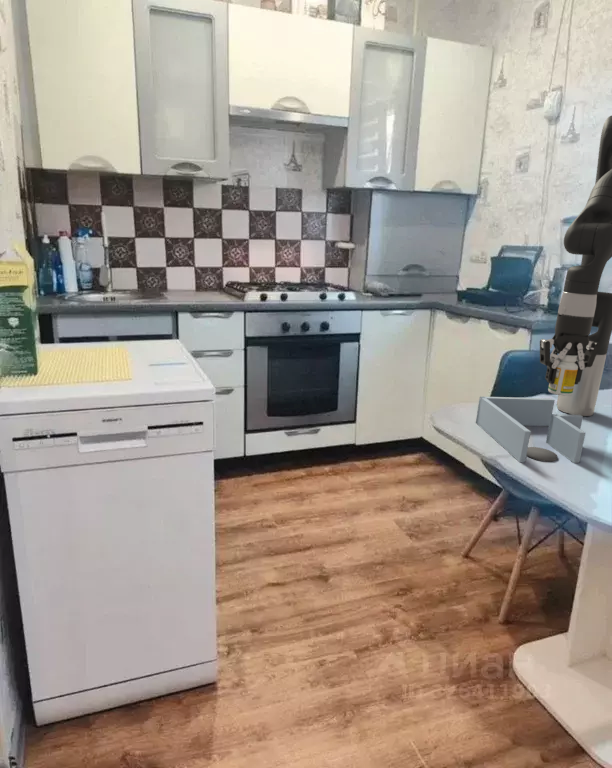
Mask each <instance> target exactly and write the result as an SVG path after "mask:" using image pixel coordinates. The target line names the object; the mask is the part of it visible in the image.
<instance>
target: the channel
mask: <svg viewBox="0 0 612 768" xmlns="http://www.w3.org/2000/svg"><path fill="white" fill-rule="evenodd" d="M554 407H555V399H554V398H546V397H544V398H543V397H513V396H512V397H511V396H509V397H507V396H505V397H504V396H479V399H478V405H477V413H476V418H475V424H476V425H478V426H479V427H480V428H481V429H482V430H483V431H484V432H485V433H487V434H488V435H489V436H490V437H491V439H493V440H494V441H496V442H497V443H498V444H499V445H500V446H501V447H502V448H503V449H505V451H507V452H508V453H509V454H510V455H511V456H512V457H513V458H515V459H516V460H517V462H519V463H526V459H527V456H526V455H527V449H528V447H529V443H530V438H531V432H532V431H531V430H530V429H528V428H527V426H530V427H531V426H533V427H548V431H547V435H546V441H545V442H546V444H548V445H549V446H550V447H552V448H553V449H554V450H556V451H558V452H559V454H561V455H562V456H564V457H565V458H566V459H568V460H569V461H571V462H572V463H573V464H580V460H581V455H582V451H583V446H584V442H585V438H586V431H584V430H582V429H581V428H582V425H583V420H584V419H583V418H584V416H581V415H573V414H567V413H565V414H561V413H560V414H559V413H556V414H555V413H553V411H554ZM525 426H526V427H525Z"/></svg>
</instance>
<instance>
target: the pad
mask: <svg viewBox="0 0 612 768" xmlns="http://www.w3.org/2000/svg"><path fill="white" fill-rule="evenodd" d="M526 457H527V458H530V459H533V460H535V461H540V462H548V463H549V462H551V463H552V462H556V461H557V460H558V454H556V452H554V451H552V450H549V449H547V448H543V447H537V446H528V449H527V455H526Z"/></svg>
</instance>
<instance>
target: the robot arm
mask: <svg viewBox="0 0 612 768" xmlns="http://www.w3.org/2000/svg"><path fill="white" fill-rule="evenodd" d="M601 130H602V131H601V134H600V139H599V146H598V147H599V149H598V156H597V157H598V159H597V166H596V176H595V181H594V182H595V184H594V186H593V187H592V190H591V191H590V194H589V196H588V199H587V201H586V204H585V206H584V208H583V209H582V210H581V212H580V213H579V214H578V215H577V217H576V218H575V219H574V220H573V221H572V223H570V225H569V226H568V228H567V229H566V231H565V234H564V238H563V247H564V249H565V251H566V252H567V253H568V254H571V255H578V256H579V255H580V256H582V257H581V262H580V265H573V266H571V267H569V268H568V269H567V272H566V275H565V280H564V286H563V289H562V290H563V291H562V295H561V298H560V301H559V304H558V309H557V310H558V311H557V315H556V321H555V326H554V335H553V336H552V338H548V339H544V338H541V339H540V341H539V363H540V364H542V365H544V366H545V367H546V372H545V377H544V379H545V380H546V382H547V383H548V384H549V383H550V384H554V381H555V376H556V371H557V369H555V368H556V367H557V365H558V364H559V362H560V361H562V360H563V358H564V356H565V355H577V360H576V362H575V364H577V366H578V370H577V375H576V379H575V384H574V389H573V393H572V395H570V396H561V395H557V401H556V406H557V409H558V410H559V411H561V412H563V413H565V414H568V415H581V416H583V417H590V416H593V415H594V412H595V408H596V405H597V400H598V396H599V390H600V386H601V381H602V379H603V378H602V377H603V373H604V370H605V369H604V368H605V363H606V358H607V356H608V355H607V354H608V348H609V345H610V340H611V337H612V336H611V335H612V292H606V291H605V292H603V291H599V288H600V287H599V286H600V282H601V277H602V275H603V272H604V269H605V267H606V265H607V264H608V262H609V260H610V259H611V258H612V115H610V116H608V117H607V118H606V120H605V122H604V123H603V126H602V129H601ZM592 327H595V328H598V329H597V330H596V331H595V332H594V333H592V334H591V332H592V331H591V330H592ZM552 347H554V348H553V349H552ZM551 349H552V351H551Z"/></svg>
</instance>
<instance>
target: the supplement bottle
mask: <svg viewBox="0 0 612 768" xmlns="http://www.w3.org/2000/svg"><path fill="white" fill-rule="evenodd" d="M576 360H577V355H565V356H564V358H563V360H562V361H560V362H559V364H558V365H557V367H556V368H555V369H557V371H556V376H555V381H554V384H550V383H548V388H547V390H548V393H550V394H553V395H556V396H558V395H561V396H570V395H572V393H573V389H574V384H575V379H576V375H577V370H578V366H577V364H575V362H576Z"/></svg>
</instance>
